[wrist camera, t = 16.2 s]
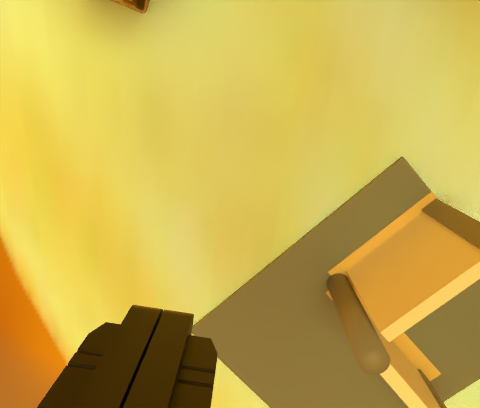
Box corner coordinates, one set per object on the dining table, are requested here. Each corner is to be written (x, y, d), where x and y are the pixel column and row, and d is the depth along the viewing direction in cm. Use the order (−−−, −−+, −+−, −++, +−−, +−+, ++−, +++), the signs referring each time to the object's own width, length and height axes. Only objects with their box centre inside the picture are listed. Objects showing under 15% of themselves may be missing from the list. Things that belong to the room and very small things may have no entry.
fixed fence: (433, 196, 39) (520, 242, 27) (446, 212, 40) (538, 265, 27) (322, 281, 42) (352, 360, 30) (335, 296, 43) (371, 380, 30)
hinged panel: (340, 299, 42) (374, 377, 31) (353, 289, 42) (394, 365, 30) (415, 387, 45) (474, 490, 33) (428, 379, 45) (492, 480, 33)
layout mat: (401, 156, 39) (403, 157, 38) (544, 333, 44) (547, 335, 43) (189, 328, 45) (189, 331, 44) (335, 467, 50) (336, 471, 49)
